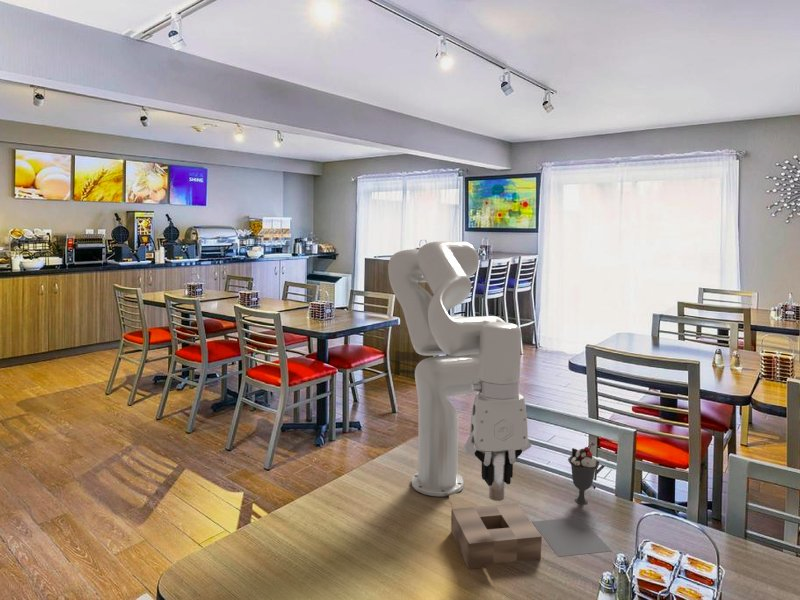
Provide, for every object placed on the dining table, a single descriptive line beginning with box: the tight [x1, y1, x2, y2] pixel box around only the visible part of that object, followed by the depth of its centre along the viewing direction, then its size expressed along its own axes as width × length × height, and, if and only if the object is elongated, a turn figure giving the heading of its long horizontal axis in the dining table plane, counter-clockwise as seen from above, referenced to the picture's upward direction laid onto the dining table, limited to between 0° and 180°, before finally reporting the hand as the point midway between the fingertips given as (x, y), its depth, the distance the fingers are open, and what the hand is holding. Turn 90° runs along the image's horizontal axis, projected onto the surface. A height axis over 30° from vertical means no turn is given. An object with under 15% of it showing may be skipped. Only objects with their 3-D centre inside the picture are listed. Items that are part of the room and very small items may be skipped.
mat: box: [531, 516, 613, 558], centre depth 105 cm, size 12×11×1 cm
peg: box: [488, 451, 506, 502], centre depth 100 cm, size 3×3×10 cm
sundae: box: [567, 442, 600, 506], centre depth 117 cm, size 7×7×15 cm
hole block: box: [450, 503, 543, 570], centre depth 102 cm, size 12×14×5 cm
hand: (496, 480), depth 100 cm, fingers closed on peg, 3 cm apart
